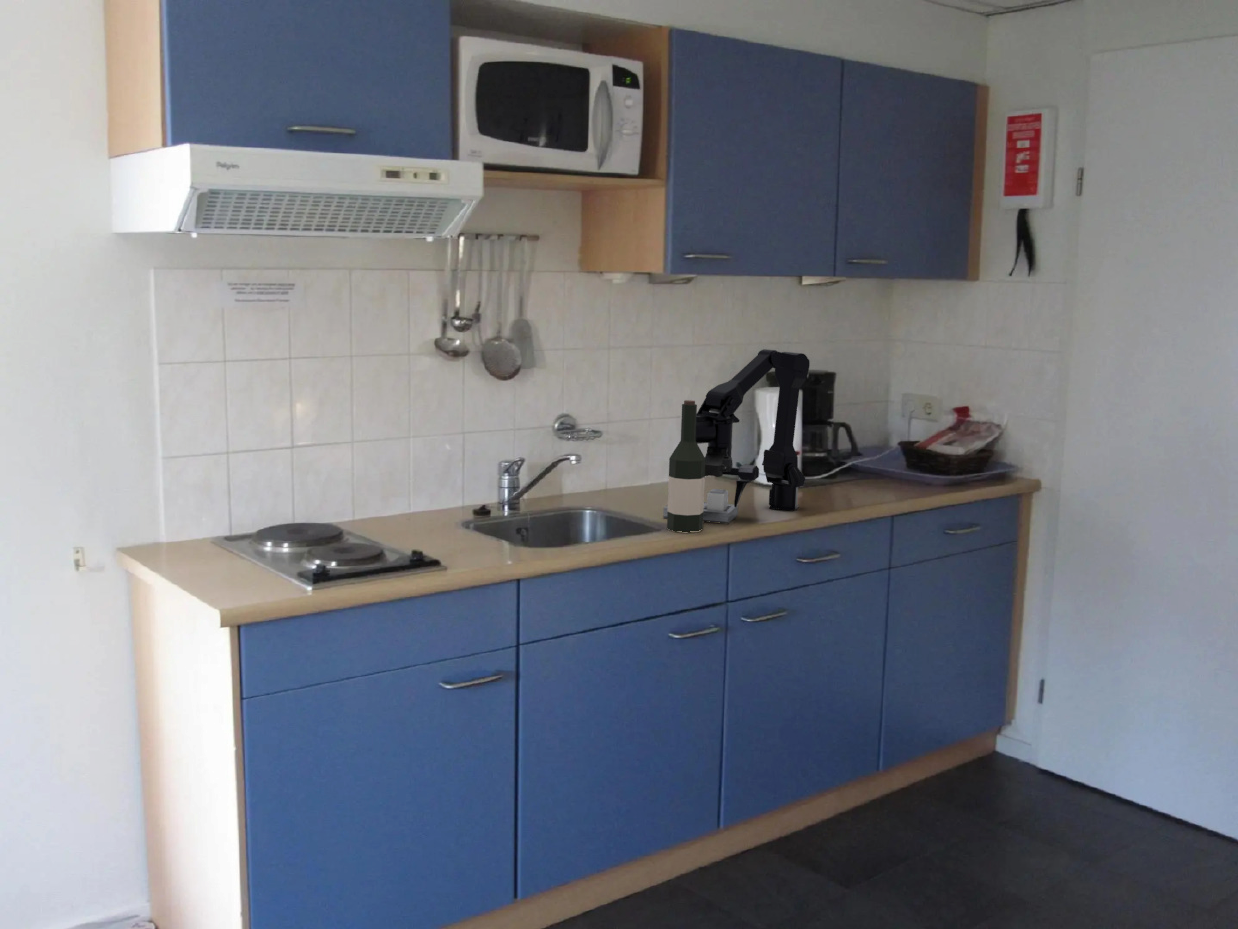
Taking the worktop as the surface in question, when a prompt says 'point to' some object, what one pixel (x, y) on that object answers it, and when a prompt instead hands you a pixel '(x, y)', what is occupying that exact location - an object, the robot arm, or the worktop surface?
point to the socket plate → (714, 514)
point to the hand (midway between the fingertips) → (717, 505)
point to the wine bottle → (686, 477)
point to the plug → (717, 500)
